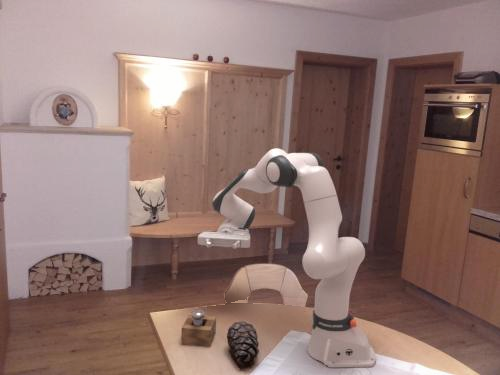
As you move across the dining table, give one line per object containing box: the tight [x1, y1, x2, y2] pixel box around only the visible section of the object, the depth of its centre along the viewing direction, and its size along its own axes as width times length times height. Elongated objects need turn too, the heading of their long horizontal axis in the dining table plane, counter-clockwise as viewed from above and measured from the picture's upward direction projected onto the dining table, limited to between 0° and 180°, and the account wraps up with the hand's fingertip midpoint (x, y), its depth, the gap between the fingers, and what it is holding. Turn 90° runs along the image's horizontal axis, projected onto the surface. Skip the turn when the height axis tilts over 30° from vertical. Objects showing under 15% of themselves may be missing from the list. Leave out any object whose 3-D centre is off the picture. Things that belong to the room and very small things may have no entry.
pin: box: [190, 308, 206, 326], centre depth 156 cm, size 5×5×10 cm
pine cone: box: [226, 321, 260, 372], centre depth 147 cm, size 10×18×10 cm, turn 16°
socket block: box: [181, 314, 217, 347], centre depth 158 cm, size 10×10×6 cm
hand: (221, 246), depth 165 cm, fingers open, 8 cm apart
